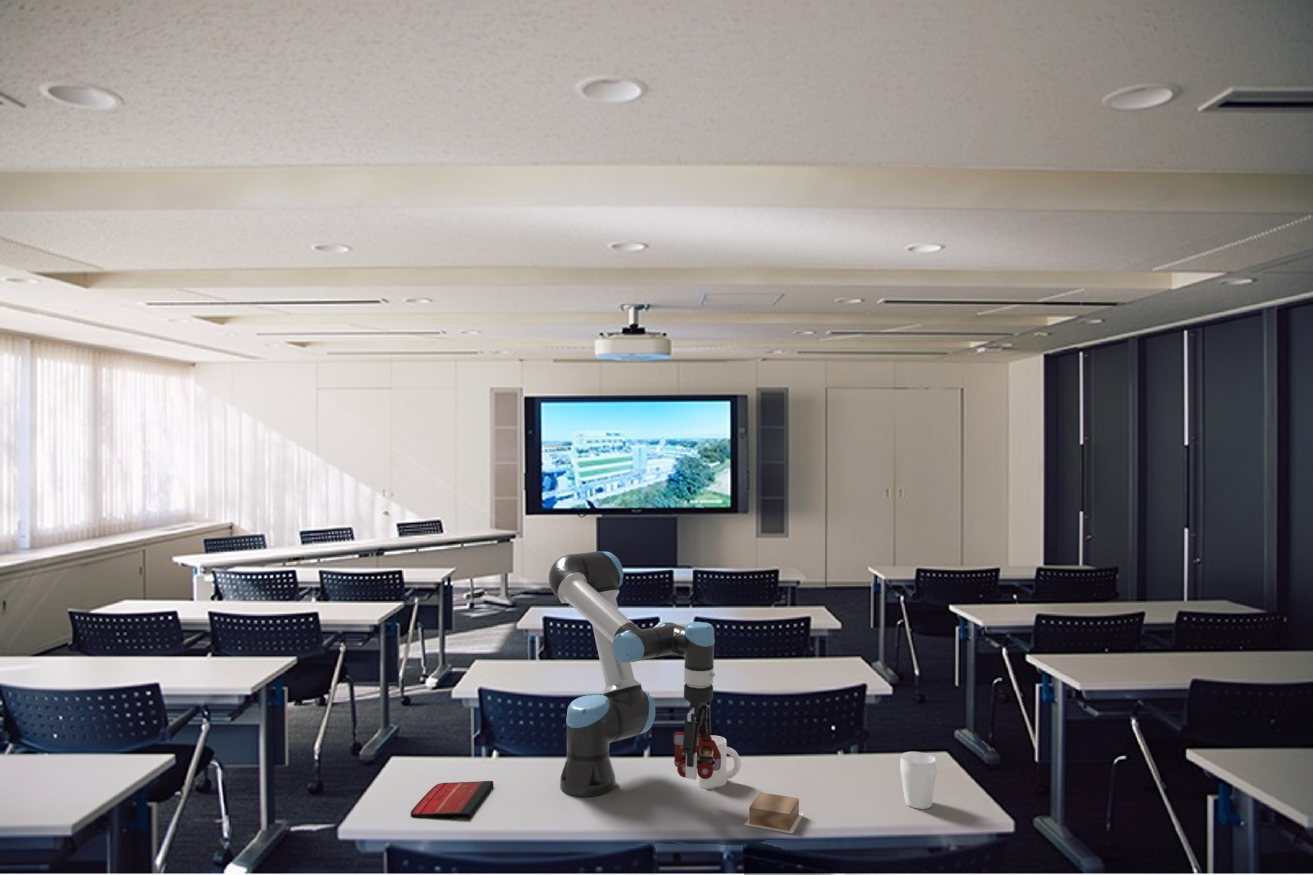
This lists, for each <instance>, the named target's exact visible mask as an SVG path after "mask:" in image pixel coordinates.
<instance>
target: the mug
mask: <svg viewBox="0 0 1313 875" xmlns="http://www.w3.org/2000/svg"><path fill="white" fill-rule="evenodd" d="M711 737H712V740H714V741H715V743H716V745H717V747H718V750H719V752H720V754H721V767H720V769H719V770H713V774H712V776H711V777H710V778H709V779H702V778H701V777H700V776H699V775H698V774H697V784H698V786H699V787H700V788H702V789H706V790H714V789H715V788H720V787H723V786H725V785H726V784H727V782H728V781H727V780H728V779H732V778H733V777H735V776H736V775H738V773H739V772H740V771H741V766H742V761H741V757H740V755H739V754H738V752H737V751H736V750H735V749H733V748H732V747H730V746H727V744H728V743H727V739H726V738H725V737H724V736H720V735H715V734H714V735H712V734H711ZM711 756H712V757H713V750H712V755H711ZM727 756H730V757H731V758H732V760H733V767H732V768H731V769H730V770H729V771H727V769H728V767H727V763H728V762H727V761H728V759H727V758H728V757H727ZM713 760H714V758H713Z"/></svg>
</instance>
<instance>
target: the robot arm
mask: <svg viewBox="0 0 1313 875" xmlns="http://www.w3.org/2000/svg"><path fill="white" fill-rule="evenodd" d="M623 570H624V569H623V566H622V564H621V561H620V559H619V558H618V557H617V556H616V555H614V554H613V553H612V552H609V551H599V550H598V551H592V552H591V551H590V552H582V553H569V554H565V555H562V556H560V557H559V558H557V559H556V561H555V562H554V563H553V564H552V566H551V567H550V571H549V573H548V582H549V587H550V589H551V591H552V593H553V594H554V596H556V598H557V599H559V600H560V601H561V602H562V603H564V604H569V605H571V607H573V608H574V609H575V610H576V611H577V612H578V613H579V614H580V615H581V616H582V617H584V618H585V620H587V622H589V623H590V624H591V625H592V626H591V627H592V630H593V635H594V639H595V645H596V648H597V653H598V658H599V662H600V666H601V667H600V668H601V671H602V676H603V681H604V684H605V686H604V689H603V690H602V693H601V694H592V695H590V694H587V695H584V696H579V697H577V698H576V699H573V701H571V702H570V703H569V705H568V707H567V712H566V719H565V720H566V721H565V722H566V759H565V761H564V766H563V768H562V771H561V775H560V779H559V781H560V782H559V787H560V790H561V791H562V792H564V793H566V794H568V795H573V796H577V797H593V796H594V797H596V796H600V795H604V794H607V793H609V792H610V791H613V789H615V787H616V774H615V771H614V767H613V764H612V762H611V758H610V743H613V742H618V741H621V740H624V739H629V738H632V737H638V736H639V735H642V734H644V733H646V732H648V731H649V730H650V729H651V728H652V726H653V723H654V722H655V718H656V705H655V701H654V699H653V697H652V696H651V694H650V693H649V692H648V691H646V690H643V686H642V683H641V682H639V681H638V680H637V679H635V676H634V671H633V666H632V663H636V662H638V661H644V660H648V659H652V658H659V657H663V656H667V655H676V656H679V657H683V658H684V670H683V673H684V674H683V682H684V683H685V684H684V685H683V698H684V700H686V701H688V702H689V707H688V711H687V712H684V728H683V729H684V730H683V732H684V740H683V750H682V752H683V753H686V776H685V777H684V778H685V779H689V780H690V779H691V780H694V781H695V780H697V778H698V773H697V759H698V761H699V758H700V756H702V755H701V748H702V747H701V748H700V750H699V753H700V754H699V757H698V758H697V753H696V746H697V739H698V733H699V734H701V736H702V739H703V735H704V734H705V733H709V734H710V736H711V735H712V718H711V716H712V715H711V714H712V713H711V706H712V705H711V704H712V700H713V698H714V685H713V684H714V678H715V677H716V673H715V672H714V668H715V667H714V662H715V661H714V660H715V657H714V655H715V642H716V640H715V628H714V626H713V625H712V624H710V623H709V622H702V621H691V622H689V623H687V624H686V625H685V626H683V625H679V624H676V623H674V622H669V621H661V622H658V623H657V624H656V625H655V626H653V627H649V628H644V629H643V628H640V627H639V626H638V625H636V624H635V623H634V622H633V621H632V620H630V618H628V617H627V616H626V615H625V614H624V613H623V612H621V611H620V610H619V607H618V602H617V597H618V595H619V593H620V589H619V587H621V586H622V584H623V578H624V571H623ZM710 740H712V737H711V739H710Z"/></svg>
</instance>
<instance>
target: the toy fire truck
mask: <svg viewBox="0 0 1313 875" xmlns="http://www.w3.org/2000/svg"><path fill="white" fill-rule="evenodd" d="M672 738H673V739H672V741H673V744H674V761H673V762H674V763H673V764H674V766H675V767H676V768H677V774H678V775H679V776H680V777H682V778H685V776H686V753H683V752H682V750H683V740H684V731H675V732H674V733H673V737H672ZM710 739H711V736H710V734H709V733H705V734H704V735H703V739H702V736H701V734H699V733H698V739H697V746H696V753H697V758H698V757H699V754H700V753H699V750H700V748H701V747H702V748H701V755H702V756H700V758H699V761H698V759H697V776H698V775H699V776H700V777H701V778H702V779H709V778H710V777H711V776H712V774H713V770H719V769H720V767H721V754H720V752H719V750H718V747H717V745H716V743H715V741H714V740H710ZM712 750H713V757H712V756H711V755H712ZM713 758H714V760H713Z"/></svg>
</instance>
